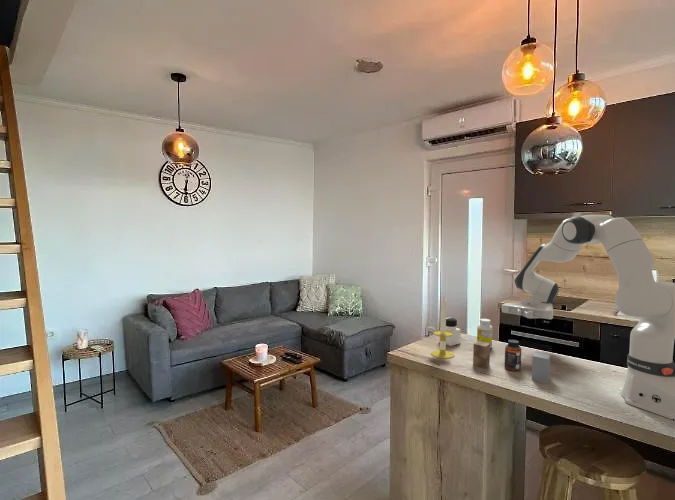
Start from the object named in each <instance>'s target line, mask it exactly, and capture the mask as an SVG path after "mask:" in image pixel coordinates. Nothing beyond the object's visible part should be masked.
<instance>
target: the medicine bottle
mask: <svg viewBox="0 0 675 500" xmlns="http://www.w3.org/2000/svg"><path fill="white" fill-rule="evenodd" d="M439 330H441V327H440V328H439ZM446 331H450V332H452V333H453V335H452V336H448V337H446V346H450V347H452V346H455V345H456V344H457V345H460V344H461V342H462V341H461V338H462V337H461V335H462V334H461V332H462V329H461V328H458V320H457V318H454V317H446Z"/></svg>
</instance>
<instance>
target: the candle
mask: <svg viewBox="0 0 675 500" xmlns="http://www.w3.org/2000/svg"><path fill="white" fill-rule="evenodd" d="M440 301H441V304H440V305H441V307H440V328H441V330H440V329H439V330H437V329H436V330H433V332H432V333H433V335H434V336H438V337H439V349H436V350H432V351H430V355H431V356H432V357H435V358H437V359H443V360H444V359H445V360H446V359H447V360H449V359H453V358H455V354H454V353H453V352H451V351H450V350H447V349H446V348H447V345H446V337H448V336H452V335H453V333H452V332H450V331H446V318H447V299H446V297H445V295H443V296H442V299H441V300H440Z"/></svg>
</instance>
